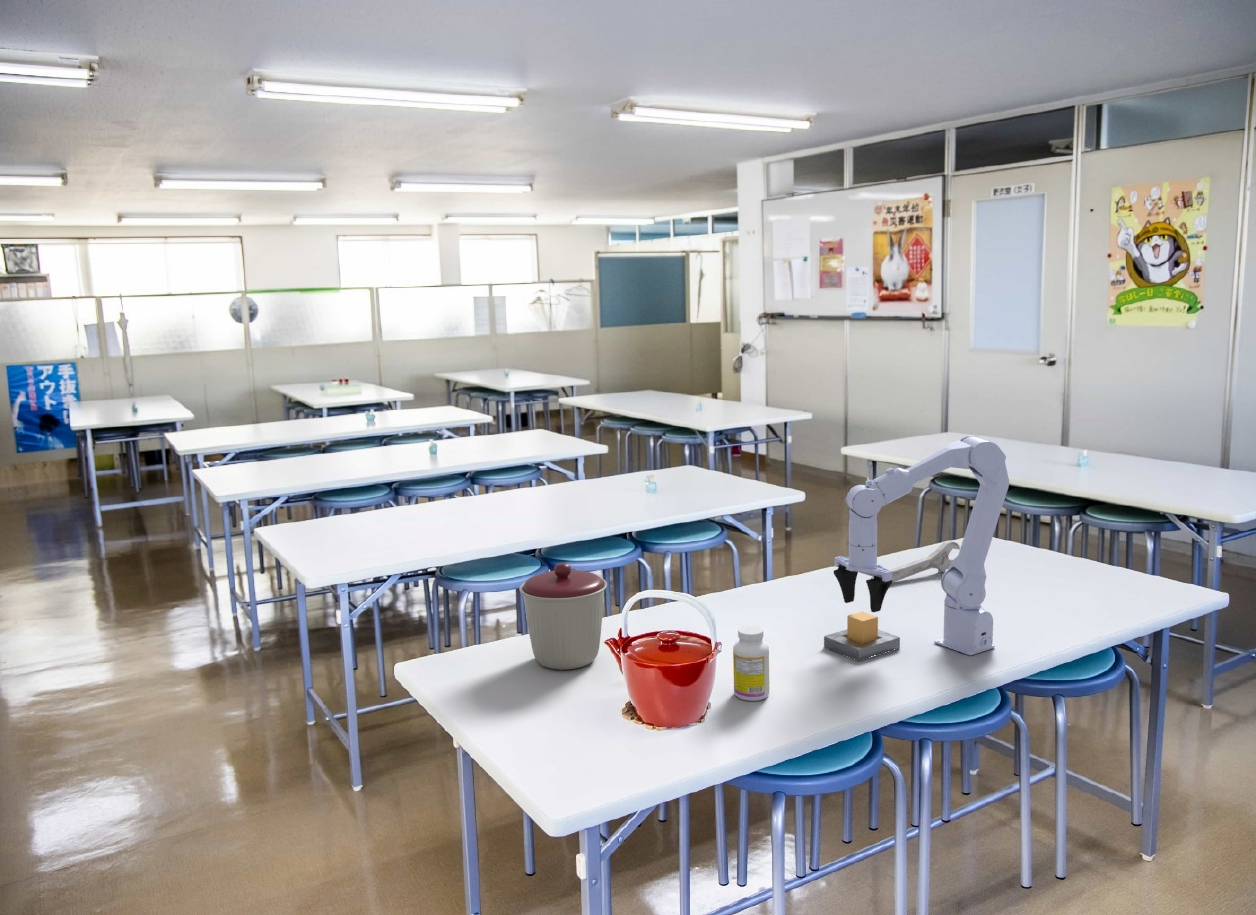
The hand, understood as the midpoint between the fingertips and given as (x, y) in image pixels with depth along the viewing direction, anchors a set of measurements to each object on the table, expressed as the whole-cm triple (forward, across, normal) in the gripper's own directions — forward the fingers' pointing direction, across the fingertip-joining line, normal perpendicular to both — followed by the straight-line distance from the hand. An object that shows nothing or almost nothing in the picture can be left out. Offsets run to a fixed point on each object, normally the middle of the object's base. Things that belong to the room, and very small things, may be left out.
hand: (862, 606), depth 200 cm
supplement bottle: (+9, +5, -34) cm, 36 cm away
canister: (+9, -31, -54) cm, 63 cm away
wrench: (+10, -27, +48) cm, 56 cm away
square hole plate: (+9, 0, 0) cm, 9 cm away
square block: (+9, 0, 0) cm, 9 cm away
